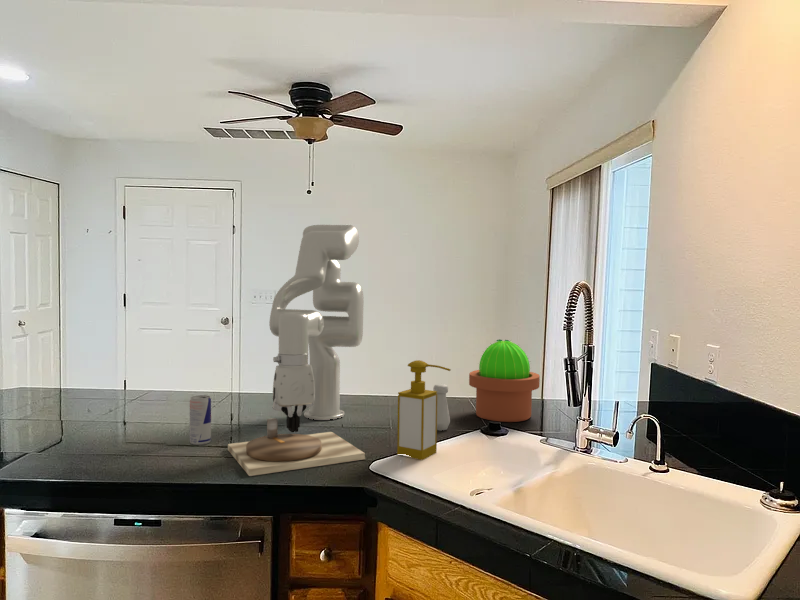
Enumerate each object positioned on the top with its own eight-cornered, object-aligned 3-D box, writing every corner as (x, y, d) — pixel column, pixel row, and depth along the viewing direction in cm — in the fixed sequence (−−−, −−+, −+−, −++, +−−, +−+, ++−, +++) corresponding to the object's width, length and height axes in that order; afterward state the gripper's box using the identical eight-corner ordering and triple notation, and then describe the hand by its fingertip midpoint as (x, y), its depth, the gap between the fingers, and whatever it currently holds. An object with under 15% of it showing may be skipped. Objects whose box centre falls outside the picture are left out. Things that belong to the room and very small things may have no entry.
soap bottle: (442, 464, 142) (443, 365, 141) (397, 455, 149) (398, 360, 148) (455, 456, 148) (457, 361, 147) (412, 448, 155) (413, 357, 154)
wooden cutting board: (227, 449, 151) (227, 441, 151) (331, 437, 164) (331, 429, 164) (249, 476, 132) (249, 466, 131) (364, 459, 145) (364, 450, 145)
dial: (335, 452, 144) (335, 427, 143) (264, 465, 133) (264, 439, 133) (300, 435, 158) (300, 413, 158) (234, 446, 147) (234, 422, 147)
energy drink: (215, 440, 159) (215, 396, 159) (202, 446, 154) (202, 400, 154) (198, 438, 161) (198, 394, 160) (185, 443, 156) (185, 398, 155)
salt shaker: (448, 431, 171) (449, 386, 171) (428, 430, 172) (429, 385, 172) (451, 426, 177) (451, 383, 176) (431, 425, 178) (432, 382, 178)
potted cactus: (525, 428, 177) (527, 344, 176) (458, 418, 188) (459, 339, 187) (546, 413, 196) (548, 337, 195) (484, 405, 207) (485, 333, 206)
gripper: (269, 364, 146) (269, 438, 147) (326, 360, 154) (325, 430, 155) (260, 360, 153) (260, 431, 153) (315, 356, 160) (314, 424, 161)
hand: (293, 430), depth 154 cm, fingers closed
